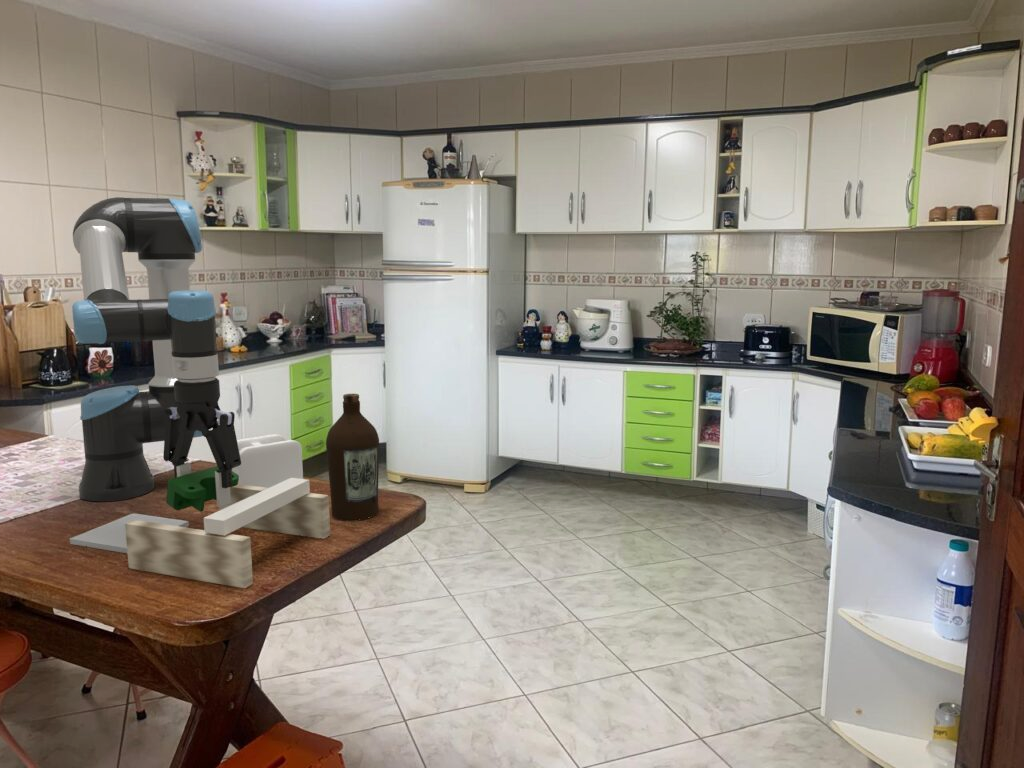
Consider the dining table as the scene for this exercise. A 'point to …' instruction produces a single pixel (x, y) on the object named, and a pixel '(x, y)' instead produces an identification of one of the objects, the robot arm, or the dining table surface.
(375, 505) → the olive oil
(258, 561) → the dining table surface
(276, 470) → the cable organizer
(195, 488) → the clamp
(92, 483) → the robot arm
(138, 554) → the stand
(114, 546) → the grey pad
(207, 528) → the strap bar
